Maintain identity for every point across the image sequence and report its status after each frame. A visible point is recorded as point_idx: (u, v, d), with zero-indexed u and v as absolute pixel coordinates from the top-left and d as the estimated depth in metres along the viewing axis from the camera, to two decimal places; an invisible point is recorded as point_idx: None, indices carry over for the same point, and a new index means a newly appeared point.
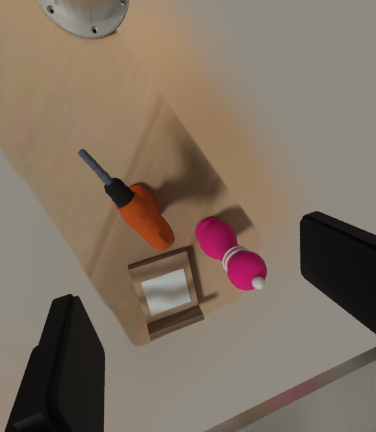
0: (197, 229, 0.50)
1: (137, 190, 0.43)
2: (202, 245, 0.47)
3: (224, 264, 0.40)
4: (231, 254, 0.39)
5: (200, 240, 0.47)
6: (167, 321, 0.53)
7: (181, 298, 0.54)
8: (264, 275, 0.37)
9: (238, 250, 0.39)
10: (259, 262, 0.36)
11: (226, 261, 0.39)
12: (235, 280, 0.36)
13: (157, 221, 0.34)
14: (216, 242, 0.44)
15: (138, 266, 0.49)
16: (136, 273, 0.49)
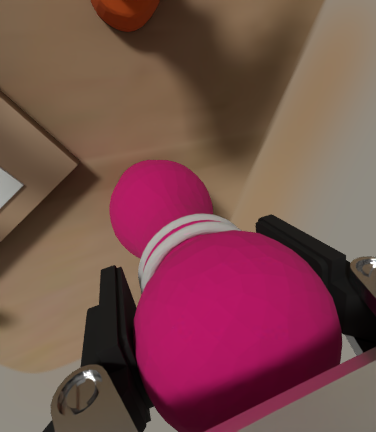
0: (144, 162, 0.20)
1: None
2: (130, 176, 0.16)
3: (166, 236, 0.09)
4: (225, 228, 0.09)
5: (137, 167, 0.16)
6: None
7: None
8: None
9: None
10: None
11: (189, 230, 0.09)
12: (197, 311, 0.05)
13: None
14: (178, 190, 0.14)
15: None
16: None
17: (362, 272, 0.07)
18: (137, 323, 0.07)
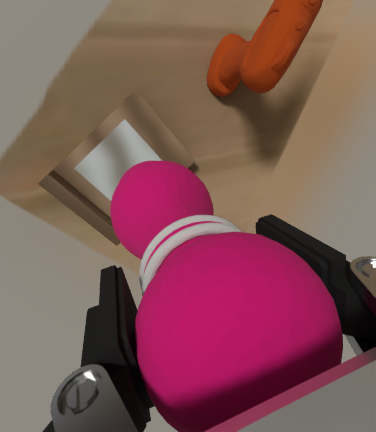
0: (144, 162, 0.20)
1: None
2: (131, 177, 0.16)
3: (167, 237, 0.09)
4: (226, 229, 0.09)
5: (137, 168, 0.16)
6: (80, 196, 0.32)
7: None
8: None
9: None
10: None
11: (190, 231, 0.09)
12: (199, 313, 0.05)
13: (303, 38, 0.23)
14: (179, 191, 0.14)
15: (146, 103, 0.32)
16: (135, 104, 0.31)
17: (362, 272, 0.07)
18: (138, 324, 0.07)
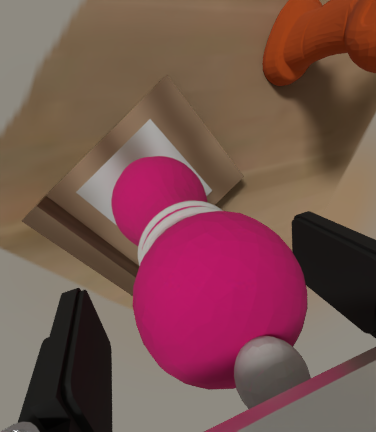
0: (143, 158, 0.21)
1: None
2: (131, 171, 0.17)
3: (162, 219, 0.11)
4: None
5: (136, 162, 0.18)
6: (86, 232, 0.22)
7: None
8: None
9: None
10: None
11: (182, 213, 0.10)
12: (185, 269, 0.07)
13: None
14: (174, 183, 0.15)
15: None
16: (165, 97, 0.21)
17: None
18: (136, 286, 0.08)
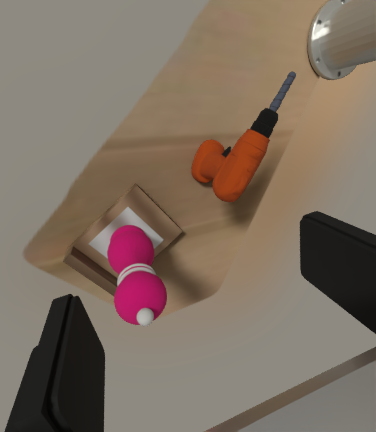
0: (124, 227, 0.41)
1: (221, 150, 0.43)
2: (116, 240, 0.37)
3: (125, 271, 0.30)
4: (143, 269, 0.30)
5: (119, 235, 0.37)
6: (93, 265, 0.41)
7: None
8: (153, 318, 0.27)
9: (152, 273, 0.31)
10: (164, 301, 0.28)
11: (132, 270, 0.30)
12: (126, 291, 0.26)
13: (254, 173, 0.33)
14: (135, 249, 0.35)
15: (144, 193, 0.42)
16: (136, 196, 0.41)
17: None
18: (115, 295, 0.28)
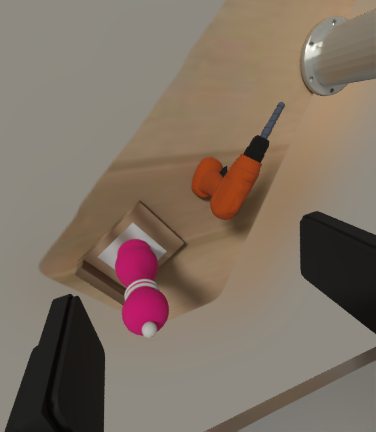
0: (130, 241, 0.44)
1: (219, 167, 0.46)
2: (123, 255, 0.40)
3: (131, 286, 0.34)
4: (147, 284, 0.34)
5: (126, 250, 0.41)
6: (102, 276, 0.45)
7: None
8: (157, 329, 0.31)
9: (155, 288, 0.34)
10: (166, 314, 0.31)
11: (137, 285, 0.33)
12: (132, 306, 0.30)
13: None
14: (140, 264, 0.38)
15: (148, 210, 0.45)
16: (140, 212, 0.44)
17: None
18: (122, 309, 0.31)
